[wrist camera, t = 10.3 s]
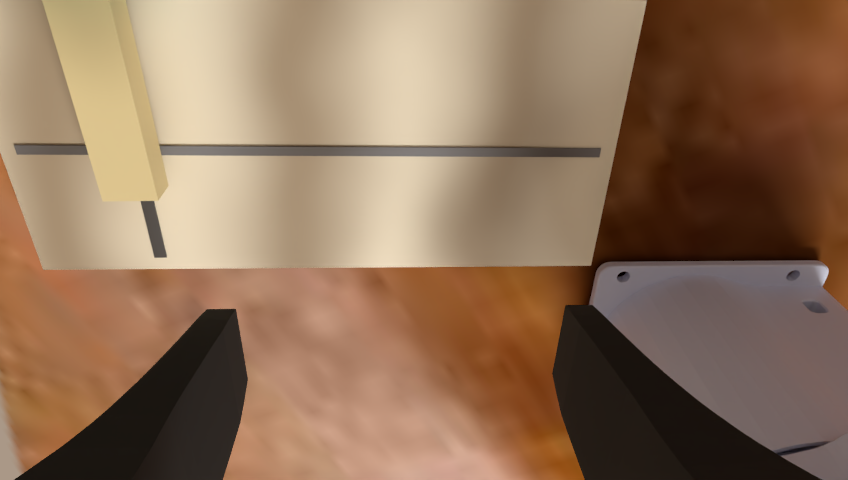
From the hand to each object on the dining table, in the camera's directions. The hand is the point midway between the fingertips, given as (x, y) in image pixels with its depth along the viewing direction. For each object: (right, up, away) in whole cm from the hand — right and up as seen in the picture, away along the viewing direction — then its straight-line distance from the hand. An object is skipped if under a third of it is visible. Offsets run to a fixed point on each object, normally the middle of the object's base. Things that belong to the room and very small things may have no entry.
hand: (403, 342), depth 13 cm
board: (-3, +6, +7) cm, 10 cm away
